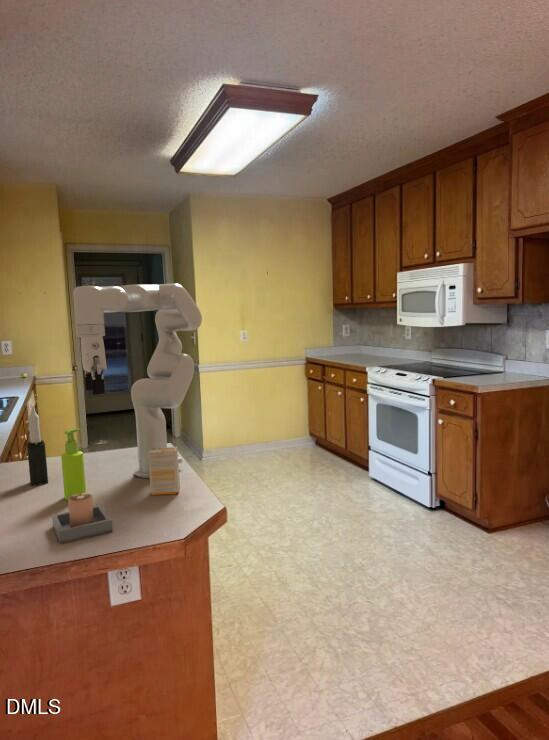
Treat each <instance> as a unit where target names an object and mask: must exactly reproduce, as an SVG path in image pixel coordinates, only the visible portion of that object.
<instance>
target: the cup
mask: <svg viewBox="0 0 549 740" xmlns="http://www.w3.org/2000/svg"><path fill="white" fill-rule="evenodd" d="M67 502H68V512H69V519H70V528H71V527H76V526H80V525H85V524H89V523H94V515H93V507H94V504H93V494H91V493H88V492H87V491H86V493H81V494H74V495H71V497H69V498H68V500H67Z"/></svg>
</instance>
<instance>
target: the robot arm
mask: <svg viewBox="0 0 549 740" xmlns="http://www.w3.org/2000/svg"><path fill="white" fill-rule="evenodd" d="M72 294H73V307H74V318H75V319H74V320H75V331H76V332H75V333H76V338H80V349H81V350H80V351H81V362H82V368H83V369H82V370H83V371H84V385H85V386H84V387H85V390H86V391H92V392H91V393H92V395H93V396H94V395H95V396H97V395H104V394H105V393H106V391H105V387H106V386H105V378H104V372H106V371H107V368H108V367H107V359H106V350H105V349H106V348H105V344H104V343H105V342H104V338H103V337H105V336H106V330H105V317H104V316H105V313H117V312H119V313H120V312H121V313H122V312H123V313H136V312H137V313H138V312H139V313H140V312H147V311H148V312H149V311H150V312H151V311H156V314H155V317H154V319H155V320H154V321H155V325H156V326H155V327H156V330H157V335H158V343H157V346H156V348H155V349H154V352H153V354H152V356H151V358H150V360H149V363H148V365H147V368H146V369H147V370H146V371H147V376H148V378H147V377H146V378H140V379H138V380H136V381H135V382H134V383H133V384H132V386H131V388H130V389H131V390H130V397H131V402H132V405H133V409H134V414H135V424H136V441H137V455H138V457H137V459H138V467H137V468H136V469H134V475H135V477H138V478H143V479H150V477H149V464H148V451H149V450H150V449H151V448H167V447H168V441H167V440H168V439H167V438H168V437H167V422H166V417H165V414H164V412H163V410H162V409H175V408H178V407H180V406H181V405H182V403H183V401H184V399H185V397H186V394H187V392H188V390H189V387H190V385H191V382H192V380H193V378H194V377H193V376H194V374H195V362H194V359H193V357H191V356H190V355H189V354H188V353H184V352H183V344H182V341H181V339H180V338H179V336H178V334H177V333H176V332H178V331H179V332H181V331H182V332H185V331H186V332H188V331H190V332H191V331H195V330H197V329H199V328H200V327H201V325H202V321H203V318H202V317H203V316H202V313H201V312H202V311H201V310H200V308H199V306H198V305H197V304H196V302H195V301H194V299H193V298H192V296H191V295H190V293H189V292H188V290H187V289H186V288H185V287H183V286H182V285H181V284H179V283H163V284H161V283H160V284H138V283H137V284H125V285H120V286H119V285H118V286H116V285H107V286H103V285H102V286H97V285H95V286H94V285H81V286H76V287H75V288H74V289H73V292H72ZM182 352H183V353H182ZM182 463H183V458H182V457H178V465H179V464H182Z"/></svg>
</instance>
